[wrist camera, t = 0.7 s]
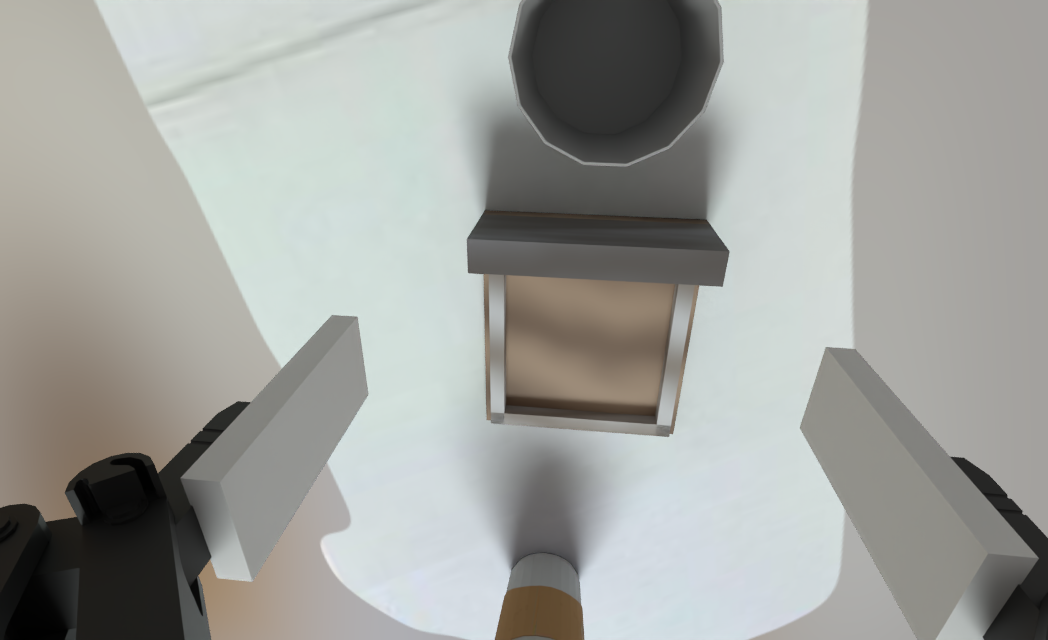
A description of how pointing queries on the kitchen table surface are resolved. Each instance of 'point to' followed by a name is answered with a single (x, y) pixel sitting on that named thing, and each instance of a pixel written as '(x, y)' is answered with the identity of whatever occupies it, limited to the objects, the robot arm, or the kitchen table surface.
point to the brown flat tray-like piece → (590, 316)
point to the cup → (615, 73)
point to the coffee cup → (542, 601)
